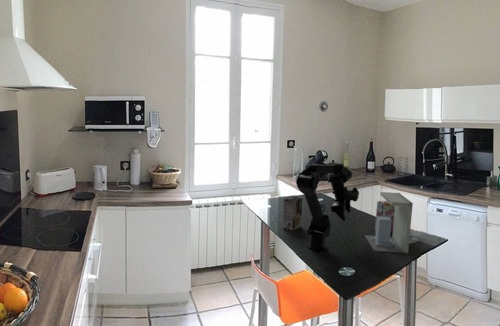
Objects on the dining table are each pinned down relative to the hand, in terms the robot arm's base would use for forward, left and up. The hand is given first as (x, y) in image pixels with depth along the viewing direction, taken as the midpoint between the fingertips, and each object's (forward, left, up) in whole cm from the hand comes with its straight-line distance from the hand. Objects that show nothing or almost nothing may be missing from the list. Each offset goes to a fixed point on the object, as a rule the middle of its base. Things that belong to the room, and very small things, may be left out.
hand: (346, 216), depth 181 cm
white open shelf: (+11, -15, -12) cm, 22 cm away
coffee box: (-8, +29, -12) cm, 32 cm away
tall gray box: (+10, -14, -12) cm, 21 cm away
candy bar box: (+29, -5, -12) cm, 32 cm away
